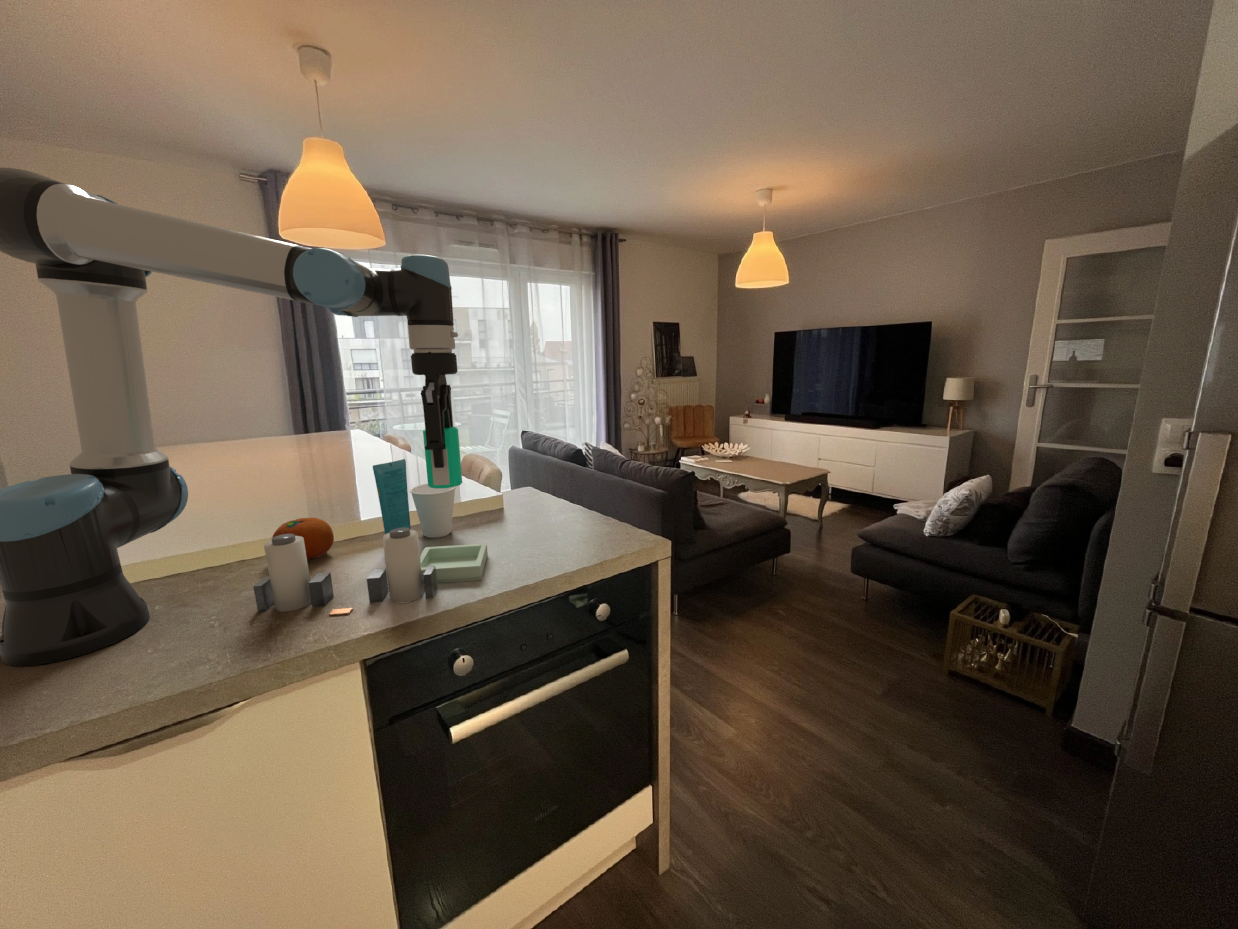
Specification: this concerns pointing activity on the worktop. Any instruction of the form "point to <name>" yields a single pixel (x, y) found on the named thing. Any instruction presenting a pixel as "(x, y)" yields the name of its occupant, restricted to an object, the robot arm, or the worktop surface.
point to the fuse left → (288, 572)
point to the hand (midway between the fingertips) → (444, 480)
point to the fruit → (310, 535)
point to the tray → (455, 562)
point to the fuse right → (403, 565)
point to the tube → (393, 494)
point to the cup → (434, 509)
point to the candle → (453, 459)
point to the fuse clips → (324, 593)
